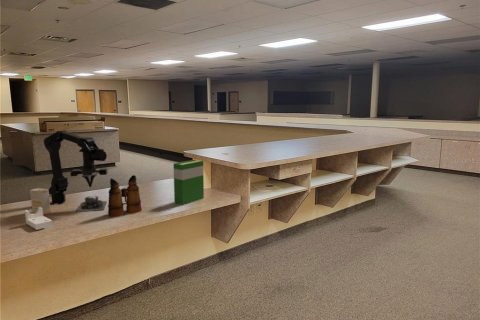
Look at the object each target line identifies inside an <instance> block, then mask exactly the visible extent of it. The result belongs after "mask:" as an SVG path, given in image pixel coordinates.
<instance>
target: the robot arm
mask: <svg viewBox="0 0 480 320" xmlns="http://www.w3.org/2000/svg"><path fill="white" fill-rule="evenodd" d="M63 141H68V142H71V143H74V144H75V145H77V146H78V147H79V148H81V149H79V150H78V151H79V153H82V169H80V168H78V169H72V170H71V171H70V173H69V175H70V176H71V177H77V176H78V175H81V177H82V178H84V180H85V181H86V182H87V185H88V187H89V188H92V186H93V182H94V179H95V177H97V176H98V175H100V176H102V175H103V176H106V175H107V174H108V173H109V172H108V169H107V167H106V168H105V167H104V168H101V167H100V168H99V169H97V167H96V165H95V162H96V161H98V162H104V161H106V160H107V157H108V156H107V152H106V151H105V150H104V148H100V147H99V145H98V144H97V142H95V139H94V137H92V136H91V137H89V136H80V135H78V134H74V133H72V132H68V131H66V130H57V131H56V132H54V133H53V134H50V135H49V136H46V137H45V138H44V139H43V144H44V147H45V149H46V150H47V152H48V154H49V159H50V160H49V161H50V165H51V170H52V171H51V172H52V178H51V181H50V187H49V188H48V190H49V195H50V196H51V203H50V205H59V204H64V203H65V202H66V194H65V192H67V189H68V186H69V182H68V181H69V180H68V177H65V176H64V175H63V169H62V168H63V167H62V163H61V157H60V156H61V155H60V150H61V147H62V142H63Z"/></svg>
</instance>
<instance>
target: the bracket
mask: <svg viewBox="0 0 480 320" xmlns="http://www.w3.org/2000/svg"><path fill="white" fill-rule="evenodd" d="M24 215H25V224H26V225H28V226H29V227H31V228H33V229H34V230H41V229H43V230H46V229H51V228H53V220H52V219H50V218H49V217H46V216H44V215H43V208H41V207H38V211H37V212H36V213H30V211H29V210H28V209H26V210H24Z"/></svg>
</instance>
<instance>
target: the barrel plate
mask: <svg viewBox="0 0 480 320" xmlns="http://www.w3.org/2000/svg"><path fill="white" fill-rule="evenodd" d="M98 202H99V203H98V204H95V205H87V204H85V201H83V202H80V205H79V206H78V207H77V209H76V213H80V212H81V213H83V212H93V211H94V212H95V211H104V210H105V208H106V206H107V205H108V201H107V200H105V201H103V200H101V199H98Z"/></svg>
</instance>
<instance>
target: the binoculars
mask: <svg viewBox="0 0 480 320" xmlns="http://www.w3.org/2000/svg"><path fill="white" fill-rule="evenodd" d="M109 185H110V189H108V202H107V207H108V209H107V210H108V211H107V216H108V217H110V218H119V217H122V216H124V215H125V212H126V213H128V214H136V213H137V214H138V213H140V212H142V200H141V197H140V196H141V195H140V190H139V189H140V187H139V185H138V184H137V177H136V175H135V174H132V175H131V176H130V177H129V179H128V183H127V185H128V186H127V187H123V188H120V183H119V182H117V181H116V179H114V178H110V181H109ZM123 198H124V202H123ZM124 205H126V209H125V210H124Z"/></svg>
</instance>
